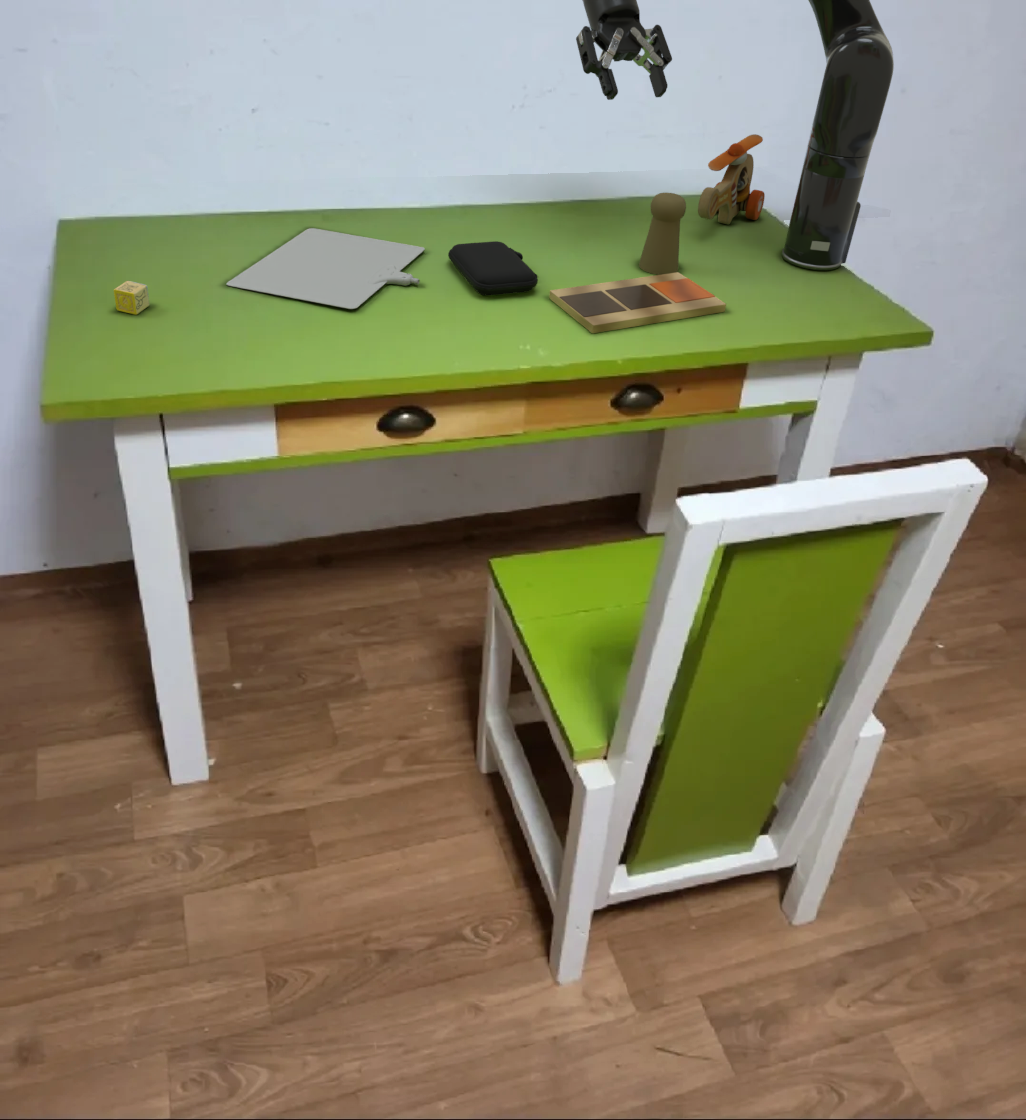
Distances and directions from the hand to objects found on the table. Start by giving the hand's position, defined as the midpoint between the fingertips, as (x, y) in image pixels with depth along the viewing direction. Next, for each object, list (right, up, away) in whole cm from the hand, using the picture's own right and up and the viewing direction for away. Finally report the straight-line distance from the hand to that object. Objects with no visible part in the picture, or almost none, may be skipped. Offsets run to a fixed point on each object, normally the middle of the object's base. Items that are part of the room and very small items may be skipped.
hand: (637, 95), depth 157 cm
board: (-1, -33, -7) cm, 33 cm away
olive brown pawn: (+4, -24, +5) cm, 25 cm away
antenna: (-43, -27, -4) cm, 51 cm away
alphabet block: (-68, -36, -19) cm, 79 cm away
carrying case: (-21, -28, -2) cm, 35 cm away
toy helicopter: (+17, -12, +23) cm, 31 cm away
